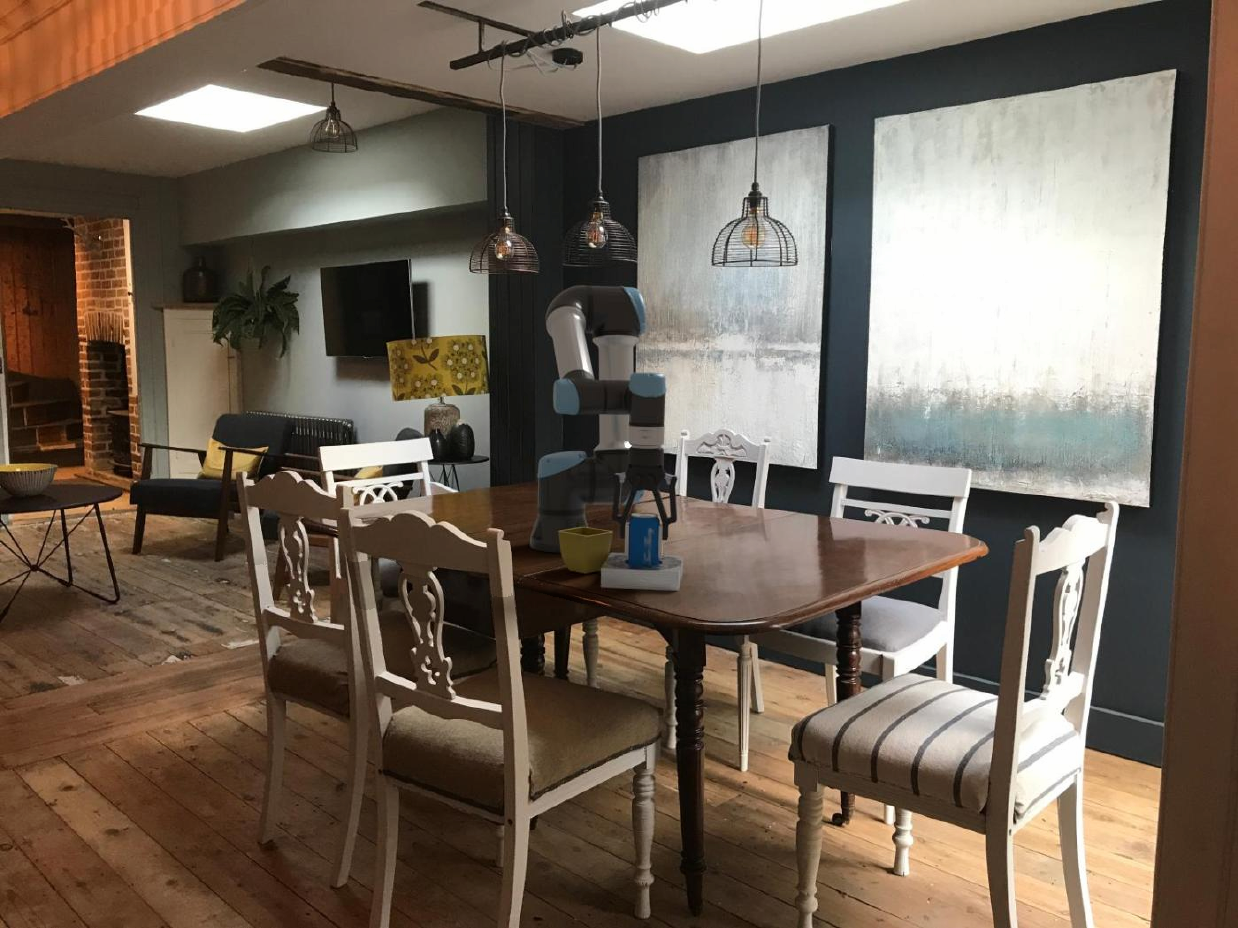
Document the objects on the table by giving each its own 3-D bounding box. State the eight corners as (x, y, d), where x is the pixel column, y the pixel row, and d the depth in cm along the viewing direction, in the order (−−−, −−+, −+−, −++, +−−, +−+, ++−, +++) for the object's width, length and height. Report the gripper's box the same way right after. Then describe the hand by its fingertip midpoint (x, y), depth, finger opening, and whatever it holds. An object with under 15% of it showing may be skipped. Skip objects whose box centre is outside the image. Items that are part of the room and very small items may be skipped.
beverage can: (633, 574, 208) (634, 517, 207) (624, 567, 214) (625, 512, 213) (662, 573, 210) (664, 516, 209) (653, 566, 216) (654, 511, 215)
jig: (600, 587, 206) (601, 568, 205) (610, 570, 221) (610, 552, 221) (678, 590, 204) (679, 571, 203) (682, 573, 220) (682, 555, 219)
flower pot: (583, 564, 226) (583, 525, 225) (612, 570, 221) (613, 530, 220) (556, 571, 220) (557, 530, 219) (586, 577, 214) (587, 536, 213)
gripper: (598, 446, 207) (596, 556, 209) (691, 449, 205) (688, 560, 207) (602, 443, 214) (600, 549, 217) (692, 446, 212) (689, 552, 215)
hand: (643, 554), depth 212 cm, fingers closed on beverage can, 6 cm apart
